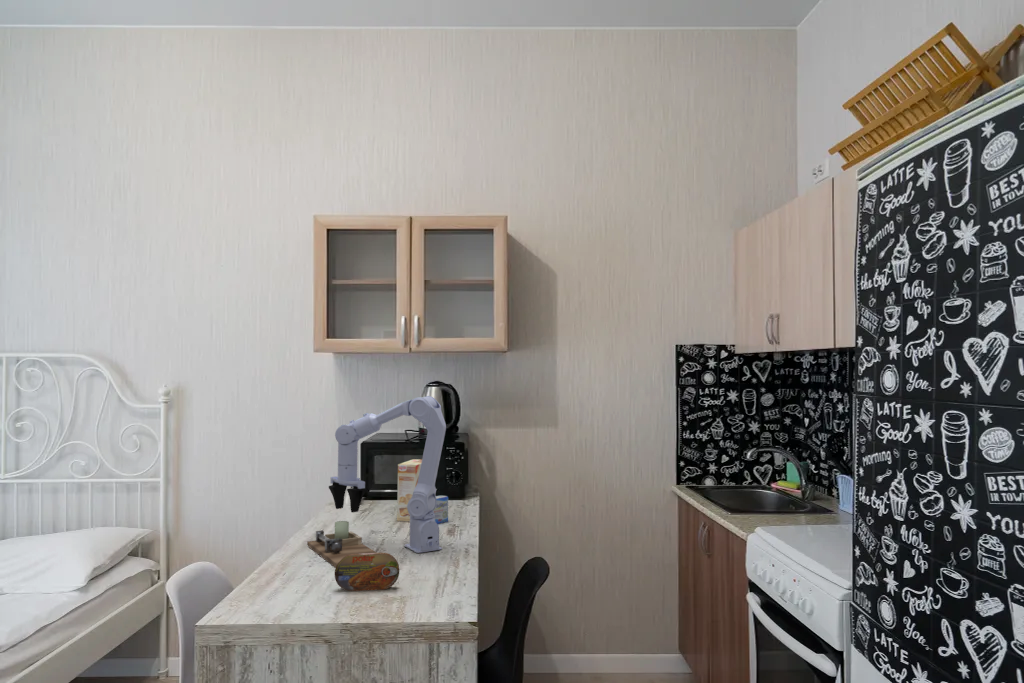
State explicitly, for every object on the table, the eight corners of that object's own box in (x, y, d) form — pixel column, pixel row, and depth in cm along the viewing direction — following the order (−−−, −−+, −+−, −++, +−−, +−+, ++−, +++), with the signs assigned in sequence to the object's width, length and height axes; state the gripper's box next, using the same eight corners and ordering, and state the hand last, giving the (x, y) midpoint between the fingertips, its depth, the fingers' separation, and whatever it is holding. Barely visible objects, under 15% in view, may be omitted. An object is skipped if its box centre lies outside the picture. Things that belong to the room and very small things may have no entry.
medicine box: (432, 525, 232) (432, 499, 233) (422, 523, 235) (423, 498, 235) (448, 521, 239) (448, 496, 239) (439, 520, 241) (439, 494, 242)
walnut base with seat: (385, 562, 188) (385, 550, 188) (338, 569, 181) (338, 557, 181) (350, 540, 212) (350, 529, 212) (307, 545, 205) (307, 534, 206)
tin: (334, 592, 163) (334, 555, 163) (335, 587, 166) (336, 552, 167) (399, 589, 165) (399, 553, 165) (399, 585, 168) (399, 550, 169)
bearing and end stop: (342, 550, 195) (342, 538, 195) (326, 552, 193) (326, 540, 193) (326, 539, 207) (326, 528, 208) (311, 541, 205) (311, 530, 205)
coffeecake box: (415, 522, 237) (416, 464, 238) (396, 521, 239) (396, 464, 240) (429, 513, 252) (430, 459, 253) (410, 512, 254) (411, 458, 254)
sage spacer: (350, 541, 205) (351, 521, 205) (344, 545, 201) (344, 524, 202) (338, 541, 206) (338, 520, 206) (331, 544, 202) (332, 523, 203)
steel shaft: (341, 552, 192) (342, 542, 193) (332, 553, 191) (332, 543, 191) (325, 540, 206) (325, 531, 206) (316, 541, 204) (316, 532, 204)
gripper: (373, 465, 207) (372, 511, 207) (344, 461, 217) (343, 505, 216) (354, 467, 202) (353, 515, 201) (324, 463, 211) (324, 508, 211)
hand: (347, 510), depth 208 cm, fingers open, 7 cm apart
